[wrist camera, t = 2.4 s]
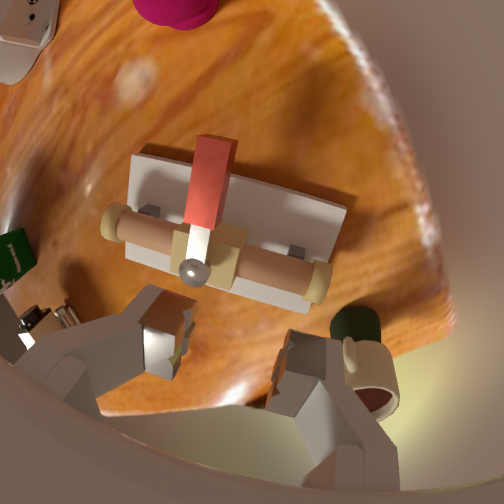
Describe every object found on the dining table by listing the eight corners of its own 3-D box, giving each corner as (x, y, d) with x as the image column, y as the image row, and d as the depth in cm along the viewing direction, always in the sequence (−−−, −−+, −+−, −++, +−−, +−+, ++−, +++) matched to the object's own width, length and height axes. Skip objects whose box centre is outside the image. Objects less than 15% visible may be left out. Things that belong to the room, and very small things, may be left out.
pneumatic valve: (62, 285, 42) (16, 325, 32) (96, 340, 47) (60, 385, 36) (47, 290, 44) (5, 327, 34) (80, 341, 48) (45, 383, 38)
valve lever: (206, 133, 21) (196, 135, 19) (239, 140, 20) (233, 143, 19) (183, 273, 26) (174, 284, 25) (210, 281, 26) (203, 294, 24)
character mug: (312, 298, 34) (308, 384, 23) (370, 278, 32) (391, 361, 20) (340, 359, 38) (341, 440, 26) (389, 344, 35) (405, 424, 24)
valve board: (138, 152, 30) (93, 166, 23) (345, 205, 29) (356, 236, 22) (131, 252, 36) (95, 285, 29) (306, 307, 35) (303, 355, 28)
